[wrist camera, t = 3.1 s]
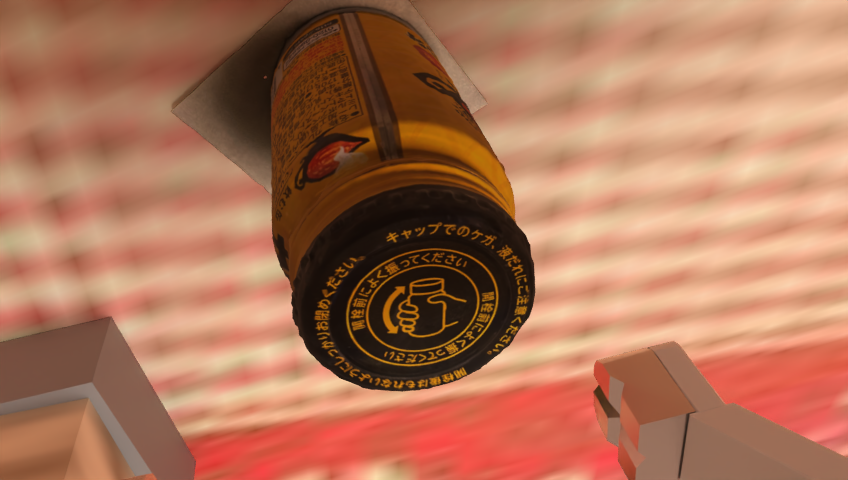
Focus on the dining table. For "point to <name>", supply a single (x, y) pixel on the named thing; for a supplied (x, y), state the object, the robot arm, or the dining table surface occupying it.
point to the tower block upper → (59, 445)
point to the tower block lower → (96, 391)
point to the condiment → (374, 190)
